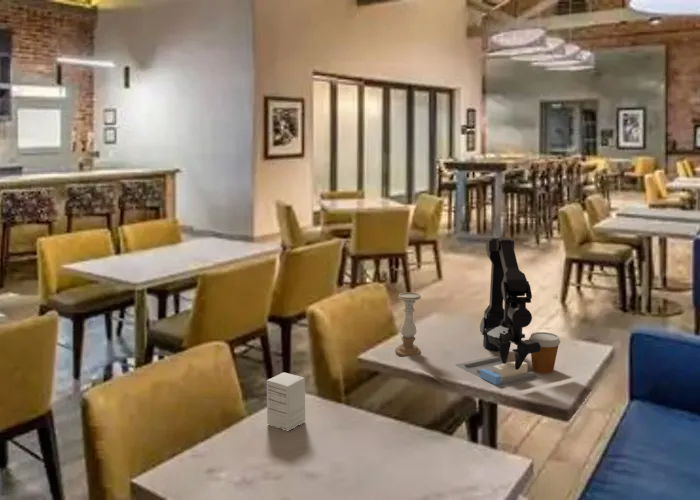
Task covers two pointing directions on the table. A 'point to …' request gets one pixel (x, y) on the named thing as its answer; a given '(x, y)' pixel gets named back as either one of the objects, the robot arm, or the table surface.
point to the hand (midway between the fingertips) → (510, 366)
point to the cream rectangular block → (509, 369)
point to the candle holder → (408, 326)
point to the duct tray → (474, 371)
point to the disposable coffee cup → (545, 352)
